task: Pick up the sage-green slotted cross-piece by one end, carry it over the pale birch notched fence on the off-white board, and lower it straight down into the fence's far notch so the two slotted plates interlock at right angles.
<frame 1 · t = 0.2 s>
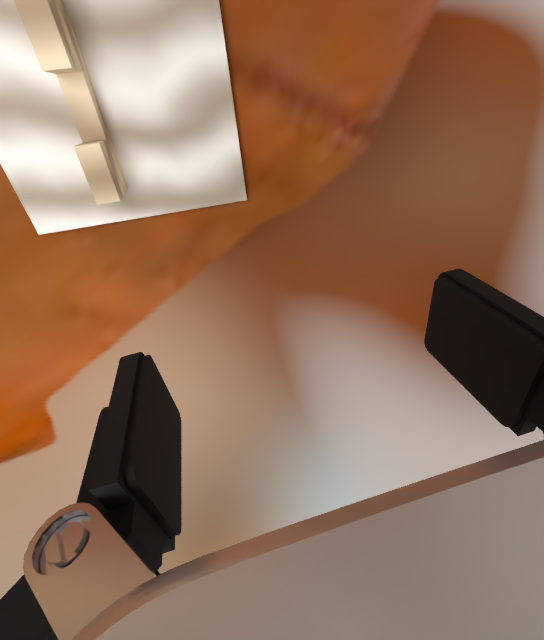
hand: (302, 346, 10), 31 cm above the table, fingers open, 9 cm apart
notched fence: (86, 18, 26), on the table
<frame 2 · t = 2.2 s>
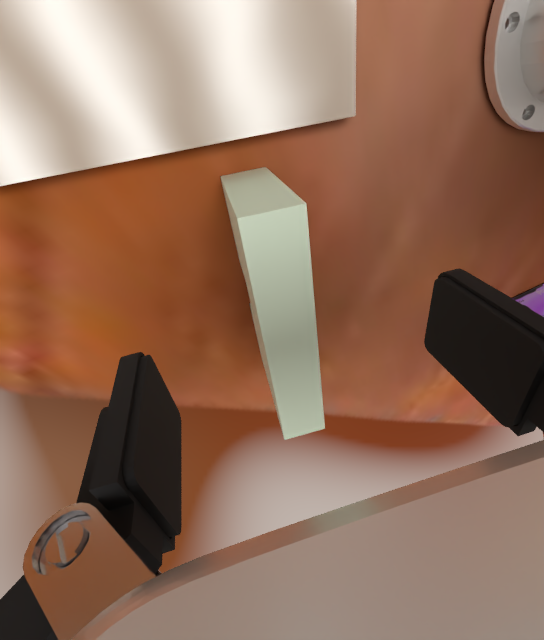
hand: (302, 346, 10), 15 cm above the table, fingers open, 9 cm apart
cross piece: (263, 279, 25), on the table
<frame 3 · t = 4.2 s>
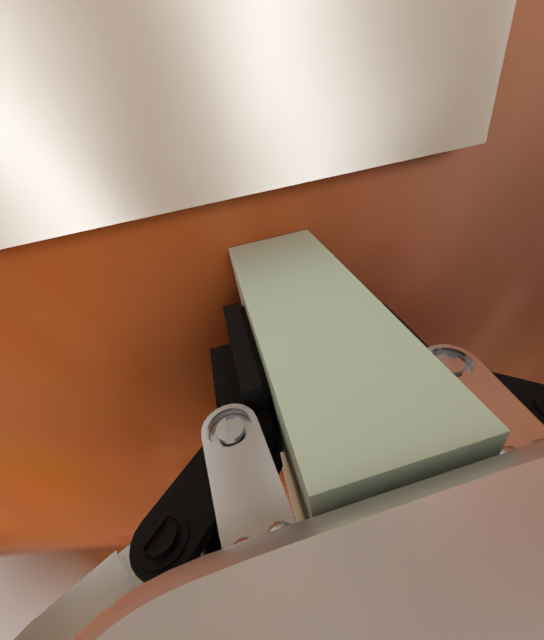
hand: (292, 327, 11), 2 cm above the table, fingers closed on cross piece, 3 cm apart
cross piece: (292, 387, 16), on the table, touching gripper
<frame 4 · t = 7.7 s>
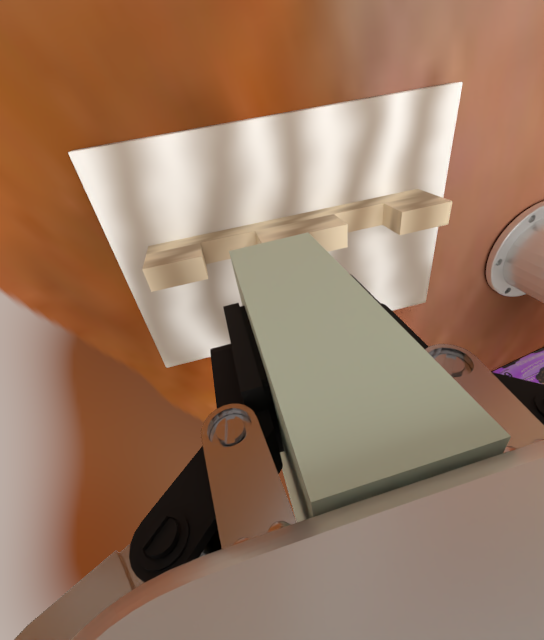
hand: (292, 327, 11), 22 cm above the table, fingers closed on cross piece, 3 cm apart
notched fence: (288, 241, 33), on the table
cross piece: (293, 389, 16), point 19 cm above the table, touching gripper
candy box: (525, 363, 55), on the table
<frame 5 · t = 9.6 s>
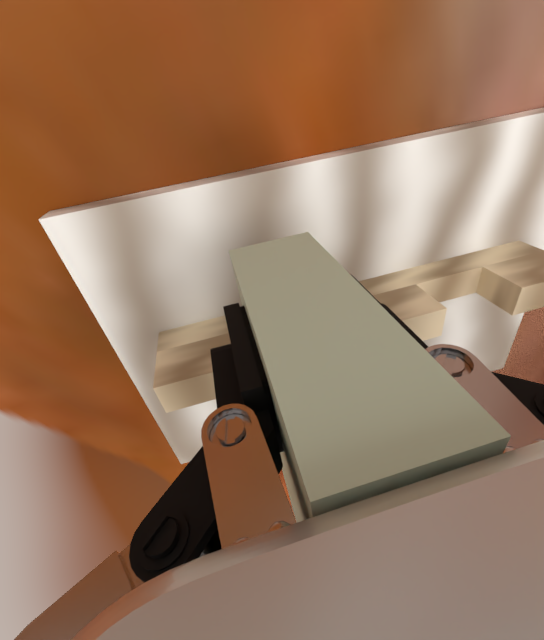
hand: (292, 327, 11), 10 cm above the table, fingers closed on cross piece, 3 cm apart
notched fence: (341, 308, 25), on the table
cross piece: (292, 388, 16), point 8 cm above the table, touching gripper
when the fingers open (5 cm above the table, at t = 11.4 s): cross piece stays where it is, resting on notched fence.
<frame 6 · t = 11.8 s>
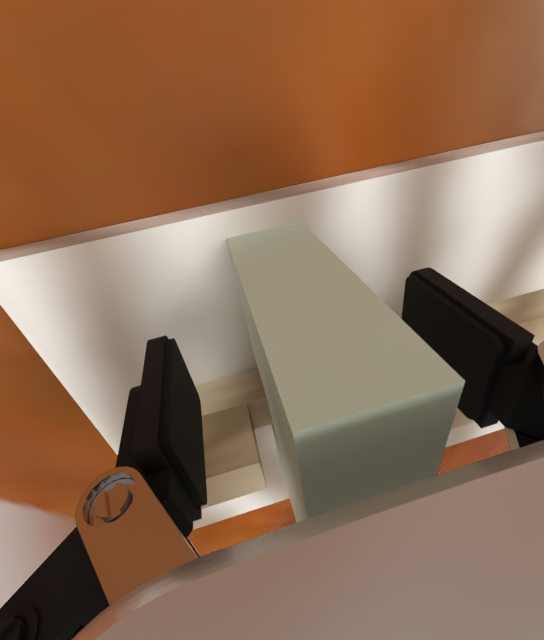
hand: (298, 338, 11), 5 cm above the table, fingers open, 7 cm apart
notched fence: (376, 354, 20), on the table
cross piece: (287, 374, 17), point 1 cm above the table, touching notched fence
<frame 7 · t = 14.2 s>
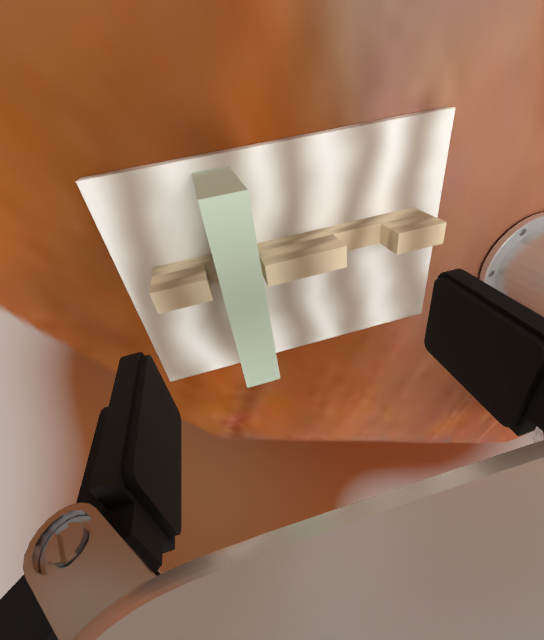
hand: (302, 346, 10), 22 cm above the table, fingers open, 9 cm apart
notched fence: (288, 258, 34), on the table
cross piece: (230, 259, 30), point 1 cm above the table, touching notched fence
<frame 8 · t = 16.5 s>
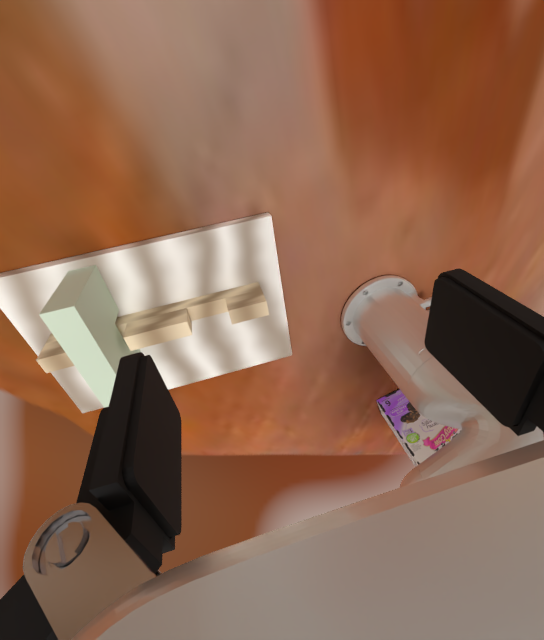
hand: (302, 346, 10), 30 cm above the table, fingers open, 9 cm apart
notched fence: (166, 319, 43), on the table
cross piece: (113, 325, 40), point 1 cm above the table, touching notched fence
candy box: (408, 391, 65), on the table
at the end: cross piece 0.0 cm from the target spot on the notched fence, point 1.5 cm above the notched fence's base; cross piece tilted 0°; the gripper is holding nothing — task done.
